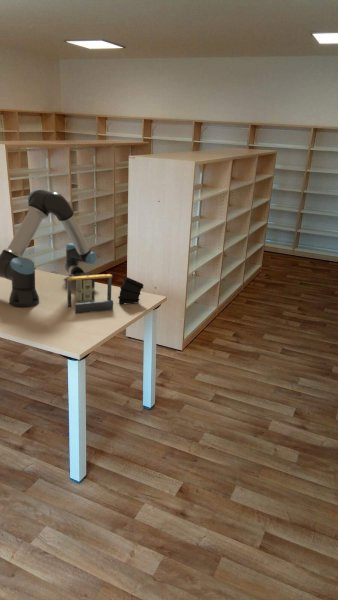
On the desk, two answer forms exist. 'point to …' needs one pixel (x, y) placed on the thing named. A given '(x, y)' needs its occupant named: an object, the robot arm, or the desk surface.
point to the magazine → (130, 291)
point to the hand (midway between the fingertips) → (87, 284)
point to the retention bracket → (91, 305)
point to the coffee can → (85, 288)
